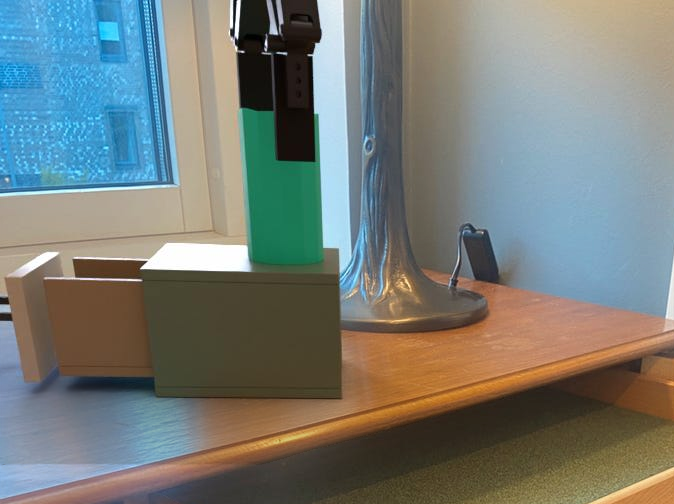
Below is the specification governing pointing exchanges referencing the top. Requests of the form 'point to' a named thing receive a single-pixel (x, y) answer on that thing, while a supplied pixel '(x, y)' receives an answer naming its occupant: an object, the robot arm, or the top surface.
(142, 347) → the drawer
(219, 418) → the top surface
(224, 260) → the cabinet
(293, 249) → the candle
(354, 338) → the top surface
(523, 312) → the top surface
